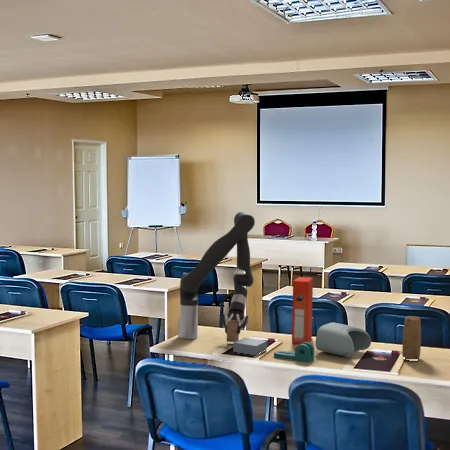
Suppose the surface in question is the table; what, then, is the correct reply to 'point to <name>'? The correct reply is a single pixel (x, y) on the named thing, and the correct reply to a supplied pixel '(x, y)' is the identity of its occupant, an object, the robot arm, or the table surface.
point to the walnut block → (232, 330)
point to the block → (412, 337)
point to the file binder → (302, 310)
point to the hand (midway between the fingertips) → (232, 333)
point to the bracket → (298, 353)
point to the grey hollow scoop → (341, 339)
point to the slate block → (249, 346)
